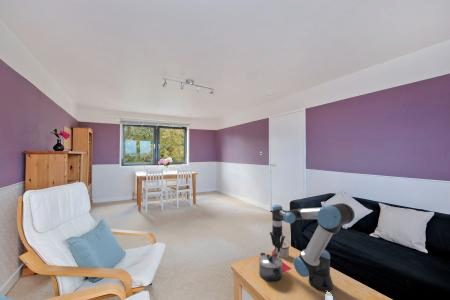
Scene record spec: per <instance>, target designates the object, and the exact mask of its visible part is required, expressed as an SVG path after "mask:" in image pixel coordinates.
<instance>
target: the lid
mask: <svg viewBox="0 0 450 300" xmlns="http://www.w3.org/2000/svg"><path fill="white" fill-rule="evenodd" d="M258 263H260V264H261V265H262V266H263V267H265V268H269V269H277V268H280V267H281V266H283V260H282V258H281V257H280V256H276V251H275V249H273V251H271V254H267V253H266V255H262V256H261V255H260V256H259V257H258Z"/></svg>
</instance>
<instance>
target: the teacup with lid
mask: <svg viewBox="0 0 450 300" xmlns="http://www.w3.org/2000/svg"><path fill="white" fill-rule="evenodd" d="M289 248H290V245H289V244H288V243H286V242H285V241H284V242H283V246H282V247H281V248H280V252H279V256H278V257H279V258H281V259H288V258H289V257H290V252H289V251H290V249H289Z"/></svg>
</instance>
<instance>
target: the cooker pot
mask: <svg viewBox="0 0 450 300" xmlns="http://www.w3.org/2000/svg"><path fill="white" fill-rule="evenodd" d="M262 255H267V253H265V252H260V256H262ZM258 263H259V262H258ZM258 266H259V268H258V269H259V270H258V271H259V273H258V275H259V277H260V278H261V279H262V280H264V281H266V282H270V283H276V282H279V281H281V279H282V277H283V276H282V275H283V271H282V266H283V265H282V266H281V267H280V268H277V269H269V268H265V267H263V266H262V265H261V264H260V263H259V265H258Z"/></svg>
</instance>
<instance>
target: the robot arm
mask: <svg viewBox="0 0 450 300" xmlns="http://www.w3.org/2000/svg"><path fill="white" fill-rule="evenodd" d="M271 217H272V219H271V220H272V223H271V224H272V226H271V227H272V229H271V230H272V231H271V232H269V234H270V239H271V243H272V244H271V245H272V246H273V247H274V250H275V251H276V256H277V257H280V256H279V252H280V248H281V247H282V246H283V242H285V239H286V236H285V235H284V234H283V222H284V223H287V224H293V223H295V221H297V220H298V221H299V220H317V224H318V225H317V227H316V229H315V231H314V233H313V235H312V236H311V239H310V241H309V242H308V244H307V246H306V248H305V249H302V250H301V252H300V254H299V255H298V256H295V257H294V258H293V260H292V261H293V262H292V263H293V266H294V269H295V271H296V273H298V275H299V276H300V277H302V278H306V277H308V283H309V286H311V287H312V288H314V289H315V290H319V291H322V292H326V291H325V290H330V291H332V290H333V289H334V283H333V279H332V276H331V254H330V252H329V251H328V250H326V247H327V245H328V244H329V242H330V240H331V238H332V237H333V235H335V234H338V233H339V231H340V229H341V227H343V226H344V225H347V224H350V223H352V222H353V221H354V220H355V211H354V209H353V207H351V206H350V205H349V204H347V203H341V202H340V203H335V204H328V205H324V206H322V207H307V208H306V207H305V208H303V207H300V208H297V209H296V208H295V209H291V210H284V209H283V206H282V205H280V204H273V205H272V207H271Z"/></svg>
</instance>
